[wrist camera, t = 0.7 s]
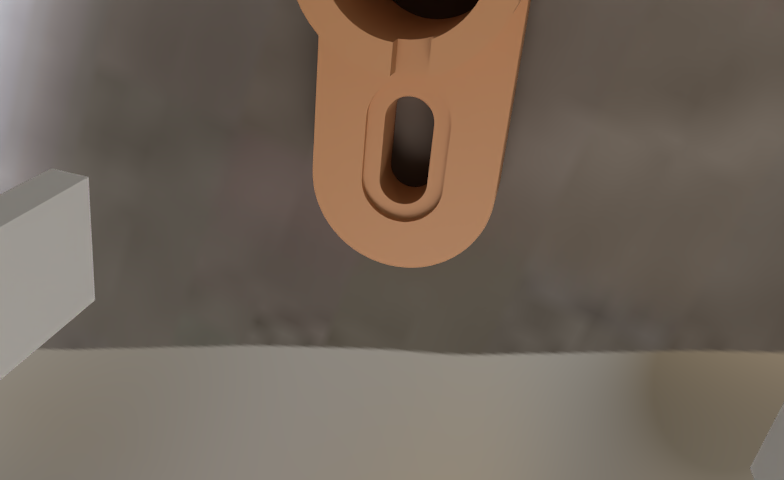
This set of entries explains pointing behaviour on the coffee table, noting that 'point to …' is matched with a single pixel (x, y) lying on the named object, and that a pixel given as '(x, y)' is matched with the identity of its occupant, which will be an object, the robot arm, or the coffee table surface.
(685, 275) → the coffee table surface
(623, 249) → the coffee table surface
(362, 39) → the bracket
